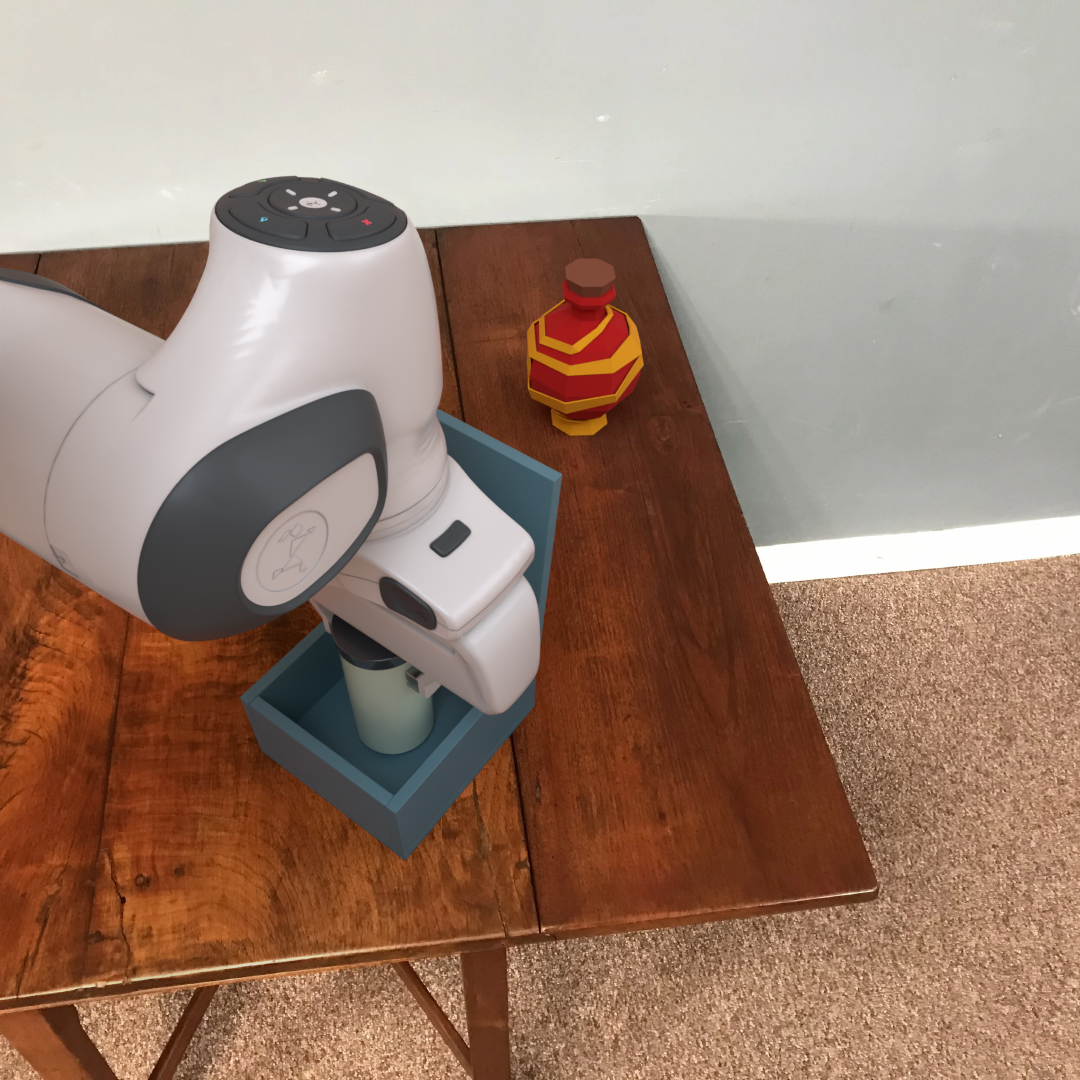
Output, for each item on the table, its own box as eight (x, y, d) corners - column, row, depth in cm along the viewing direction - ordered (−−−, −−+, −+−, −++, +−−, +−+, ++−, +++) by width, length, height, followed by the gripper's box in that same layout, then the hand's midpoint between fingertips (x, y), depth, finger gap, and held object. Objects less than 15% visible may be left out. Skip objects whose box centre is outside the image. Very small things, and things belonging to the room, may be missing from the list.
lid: (554, 481, 49) (562, 473, 50) (374, 385, 54) (383, 379, 54) (533, 651, 59) (541, 643, 60) (384, 558, 64) (392, 552, 64)
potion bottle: (619, 468, 80) (637, 324, 69) (505, 439, 82) (505, 294, 71) (649, 393, 87) (671, 250, 76) (544, 367, 89) (549, 224, 78)
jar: (352, 760, 60) (329, 665, 52) (352, 687, 64) (331, 587, 55) (438, 752, 61) (429, 656, 52) (434, 680, 64) (424, 580, 56)
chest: (405, 861, 58) (395, 813, 53) (261, 750, 62) (239, 697, 57) (534, 706, 65) (537, 651, 60) (397, 617, 70) (388, 559, 64)
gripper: (168, 445, 48) (226, 607, 59) (481, 643, 41) (484, 788, 51) (259, 383, 52) (299, 547, 62) (563, 555, 44) (551, 707, 55)
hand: (385, 657), depth 57 cm, fingers closed on jar, 5 cm apart
